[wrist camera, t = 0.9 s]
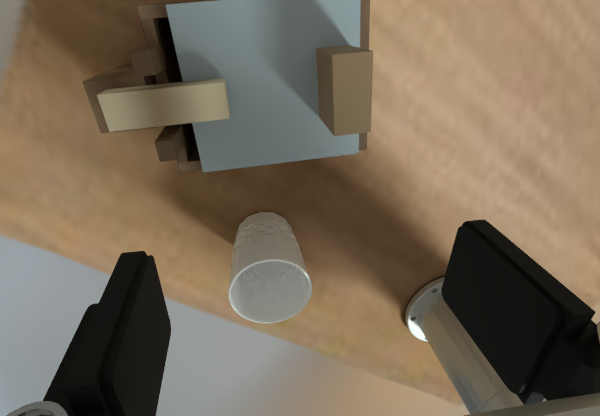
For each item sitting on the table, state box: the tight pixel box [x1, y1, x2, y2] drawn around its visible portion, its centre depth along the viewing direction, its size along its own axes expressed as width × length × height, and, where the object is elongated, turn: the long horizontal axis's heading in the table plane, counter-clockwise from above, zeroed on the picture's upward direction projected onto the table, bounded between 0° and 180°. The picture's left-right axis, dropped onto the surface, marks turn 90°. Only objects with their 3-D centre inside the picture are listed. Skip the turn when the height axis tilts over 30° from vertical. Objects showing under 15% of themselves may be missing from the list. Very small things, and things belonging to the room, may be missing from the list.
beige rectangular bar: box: [97, 78, 230, 132], centre depth 24 cm, size 8×2×2 cm, turn 94°
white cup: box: [228, 212, 312, 323], centre depth 37 cm, size 8×8×10 cm
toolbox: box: [83, 0, 370, 172], centre depth 28 cm, size 20×12×11 cm, turn 94°
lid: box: [166, 0, 373, 173], centre depth 24 cm, size 13×12×6 cm
